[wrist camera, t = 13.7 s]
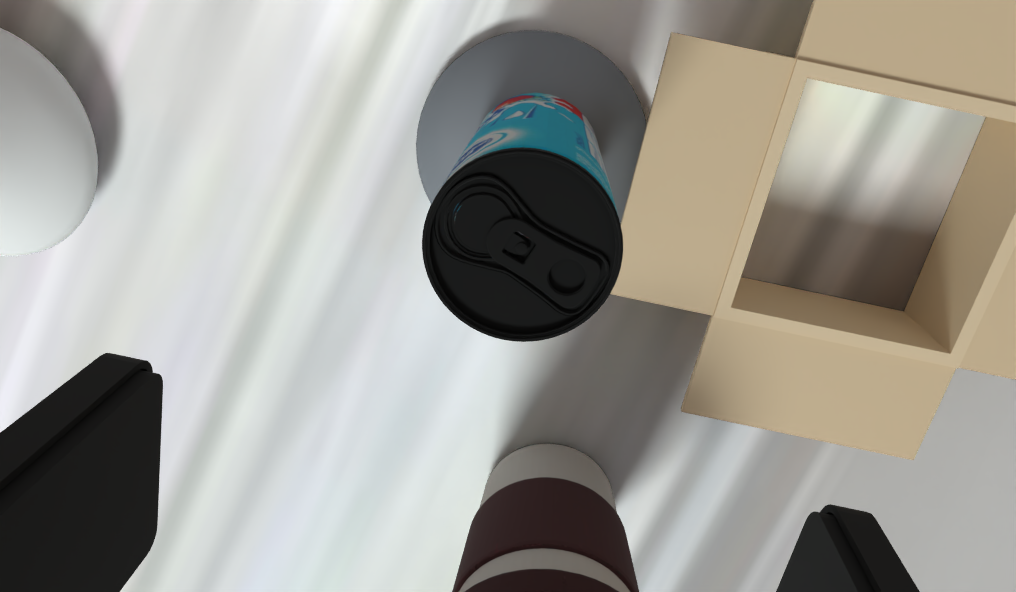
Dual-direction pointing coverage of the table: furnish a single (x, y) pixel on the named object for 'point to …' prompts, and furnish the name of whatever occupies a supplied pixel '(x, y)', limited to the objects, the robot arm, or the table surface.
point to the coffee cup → (546, 528)
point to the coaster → (521, 70)
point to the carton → (743, 193)
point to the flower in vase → (41, 152)
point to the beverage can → (525, 224)
